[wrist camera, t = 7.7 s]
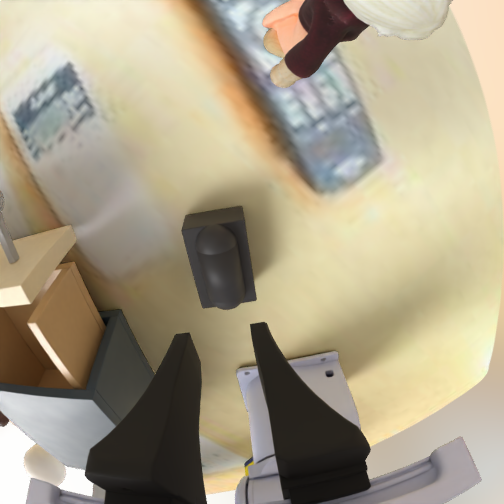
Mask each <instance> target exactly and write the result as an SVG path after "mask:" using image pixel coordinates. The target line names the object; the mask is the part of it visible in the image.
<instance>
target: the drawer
mask: <svg viewBox="0 0 504 504" xmlns="http://www.w3.org/2000/svg"><path fill="white" fill-rule="evenodd" d="M3 208H4V197H3V194H2V192H1V191H0V243H1V244H0V383H8V384H16V385H25V386H35V387H46V388H61V389H83V390H86V386H87V383H88V380H89V377H90V373H91V370H92V367H93V364H94V361H95V358H96V355H97V352H98V349H99V346H100V343H101V341H102V338H103V335H104V332H105V329H106V326H105V324H104V322H103V320H102V318H101V317H100V315H99V313H98V311H97V309H96V307H95V305H94V303H93V301H92V299H91V297H90V295H89V293H88V290H87V288H86V286H85V284H84V282H83V280H82V277H81V275H80V273H79V271H78V269H77V266H76V264H75V262H69V263H64V264H59V263H60V262H61V261H62V259H63V258H64V257H65V255H66V254H67V253H68V251H69V250H70V249H71V248H72V246H73V245H74V244H75V242H76V241H77V239H76V236H75V234H74V231H73V228H72V226H71V225H68V226H64V227H61V228H57V229H53V230H49V231H45V232H41V233H38V234H34V235H30V236H27V237H23V238H20V239H16V240H13V241H12V238H11V236H10V234H9V231H8V229H7V226H6V223H5V221H4V218H3V215H2V213H1V211H2V210H3Z"/></svg>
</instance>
